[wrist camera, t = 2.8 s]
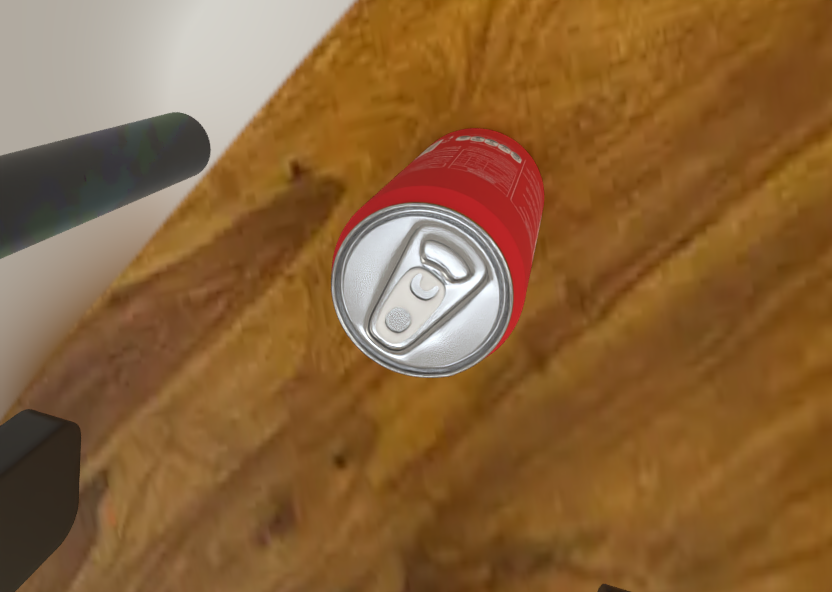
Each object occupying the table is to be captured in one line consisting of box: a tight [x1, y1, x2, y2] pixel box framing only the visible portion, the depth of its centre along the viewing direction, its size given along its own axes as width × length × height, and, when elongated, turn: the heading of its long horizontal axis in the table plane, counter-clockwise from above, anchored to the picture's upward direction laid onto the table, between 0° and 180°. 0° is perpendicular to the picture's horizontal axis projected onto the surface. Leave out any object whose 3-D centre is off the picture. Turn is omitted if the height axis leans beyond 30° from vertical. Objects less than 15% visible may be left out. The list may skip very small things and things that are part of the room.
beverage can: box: [331, 128, 544, 378], centre depth 25 cm, size 5×5×12 cm
